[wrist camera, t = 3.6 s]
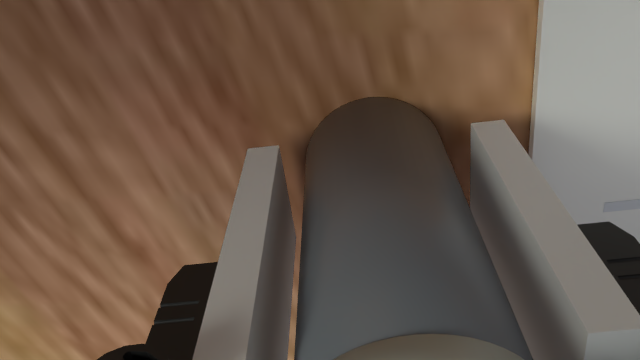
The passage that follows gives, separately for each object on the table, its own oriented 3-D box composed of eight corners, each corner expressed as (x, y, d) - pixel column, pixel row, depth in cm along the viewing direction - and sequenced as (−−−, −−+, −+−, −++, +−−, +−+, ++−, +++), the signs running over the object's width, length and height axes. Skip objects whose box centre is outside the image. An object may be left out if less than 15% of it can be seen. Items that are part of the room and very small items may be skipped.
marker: (313, 226, 16) (294, 959, 5) (294, 104, 14) (202, 865, 3) (445, 212, 15) (704, 955, 5) (443, 86, 13) (848, 851, 3)
